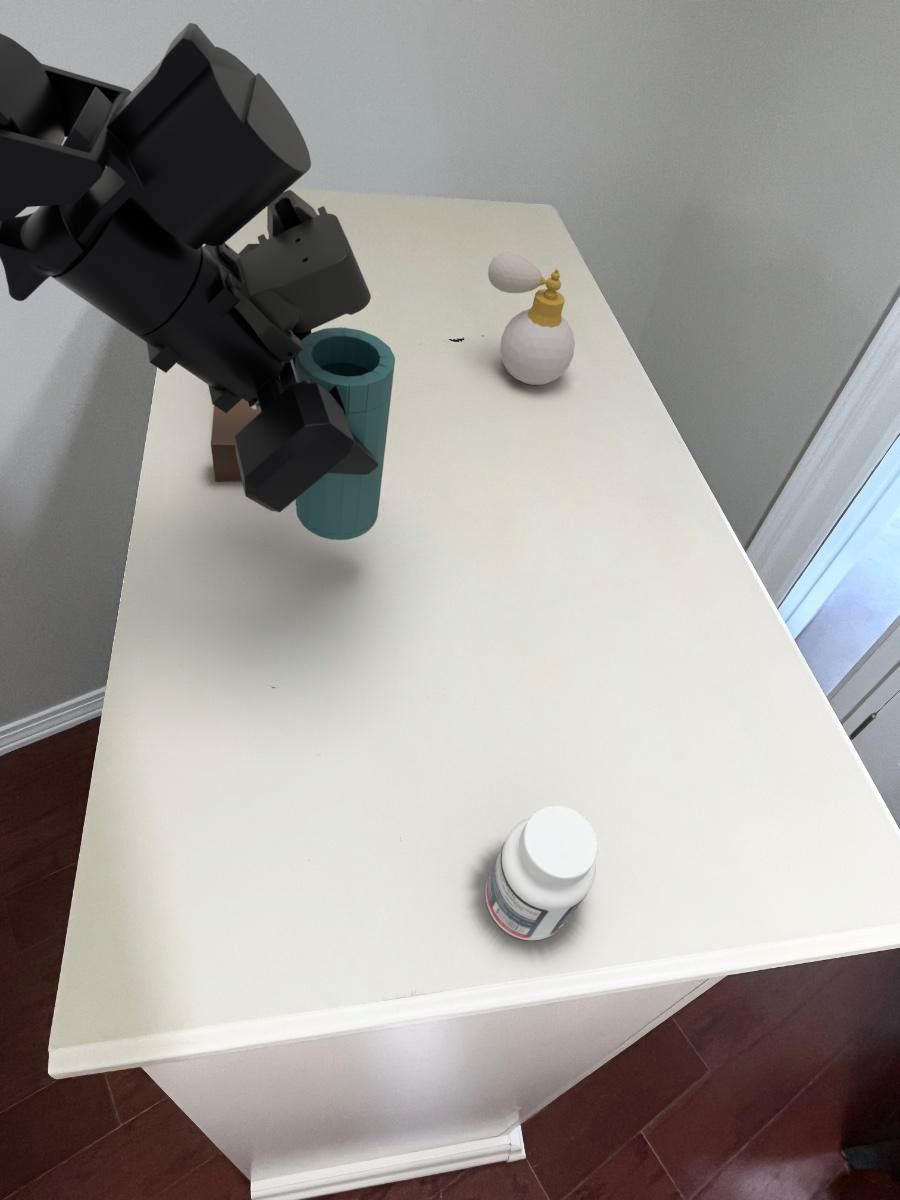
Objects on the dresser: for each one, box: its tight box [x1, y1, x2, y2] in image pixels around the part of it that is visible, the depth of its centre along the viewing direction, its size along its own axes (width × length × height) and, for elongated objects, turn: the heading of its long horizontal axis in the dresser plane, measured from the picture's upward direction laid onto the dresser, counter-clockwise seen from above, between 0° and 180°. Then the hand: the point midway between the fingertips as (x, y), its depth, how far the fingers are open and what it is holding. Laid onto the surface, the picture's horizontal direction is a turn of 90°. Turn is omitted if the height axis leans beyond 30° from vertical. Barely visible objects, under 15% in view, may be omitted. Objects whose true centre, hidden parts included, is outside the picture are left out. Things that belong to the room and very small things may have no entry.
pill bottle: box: [485, 804, 599, 941], centre depth 45 cm, size 5×5×9 cm
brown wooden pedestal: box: [210, 399, 262, 482], centre depth 71 cm, size 16×10×4 cm, turn 7°
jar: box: [295, 326, 396, 541], centre depth 52 cm, size 6×6×13 cm
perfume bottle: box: [487, 252, 576, 386], centre depth 78 cm, size 8×10×12 cm
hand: (361, 437), depth 52 cm, fingers closed on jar, 6 cm apart
